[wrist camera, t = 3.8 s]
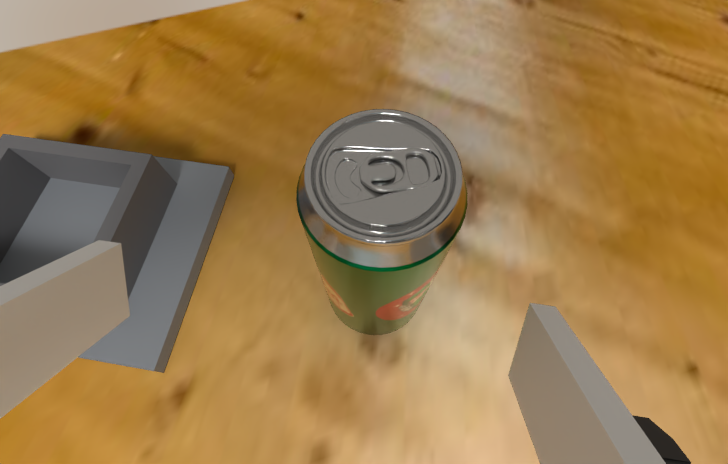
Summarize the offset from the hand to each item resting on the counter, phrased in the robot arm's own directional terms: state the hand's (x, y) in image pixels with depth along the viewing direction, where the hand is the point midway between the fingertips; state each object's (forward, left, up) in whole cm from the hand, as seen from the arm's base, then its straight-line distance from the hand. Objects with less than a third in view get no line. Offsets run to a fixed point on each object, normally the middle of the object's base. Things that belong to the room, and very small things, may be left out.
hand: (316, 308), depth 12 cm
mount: (+15, -3, -8) cm, 18 cm away
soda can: (-2, -3, -9) cm, 9 cm away
